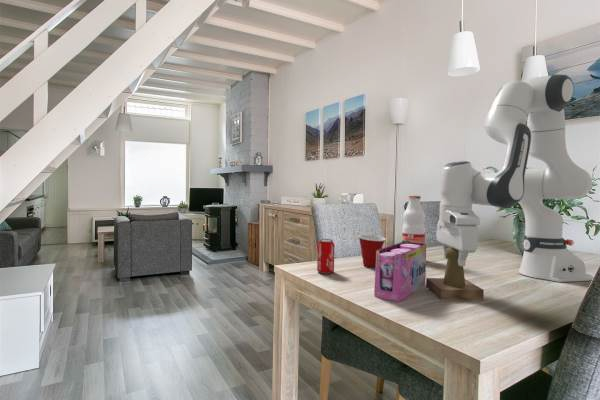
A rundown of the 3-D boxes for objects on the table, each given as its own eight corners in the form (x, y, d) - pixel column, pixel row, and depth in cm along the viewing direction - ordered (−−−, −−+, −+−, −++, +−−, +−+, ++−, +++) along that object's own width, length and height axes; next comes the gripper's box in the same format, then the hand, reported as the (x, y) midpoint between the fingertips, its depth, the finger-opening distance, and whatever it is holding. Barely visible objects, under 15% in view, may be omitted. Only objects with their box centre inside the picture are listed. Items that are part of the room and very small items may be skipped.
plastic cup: (382, 270, 131) (382, 239, 131) (354, 267, 136) (354, 237, 135) (387, 264, 141) (388, 235, 141) (361, 262, 146) (362, 233, 145)
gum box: (397, 304, 95) (398, 254, 94) (371, 297, 100) (372, 251, 99) (426, 284, 114) (427, 243, 113) (402, 280, 119) (403, 240, 118)
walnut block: (463, 287, 110) (464, 278, 110) (483, 300, 98) (483, 289, 98) (426, 287, 110) (426, 277, 110) (440, 299, 98) (441, 289, 98)
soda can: (331, 275, 124) (332, 242, 123) (314, 273, 126) (315, 241, 125) (335, 271, 130) (336, 239, 129) (319, 269, 132) (320, 238, 131)
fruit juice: (427, 260, 150) (429, 195, 148) (419, 264, 143) (421, 196, 141) (406, 257, 156) (408, 195, 155) (398, 260, 149) (399, 195, 147)
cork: (470, 286, 102) (471, 249, 101) (452, 287, 100) (454, 249, 99) (455, 280, 107) (456, 245, 107) (438, 282, 106) (440, 246, 105)
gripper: (431, 212, 114) (430, 254, 114) (459, 219, 93) (458, 270, 94) (451, 213, 114) (450, 254, 114) (483, 219, 93) (481, 270, 94)
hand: (454, 261), depth 104 cm, fingers open, 8 cm apart
